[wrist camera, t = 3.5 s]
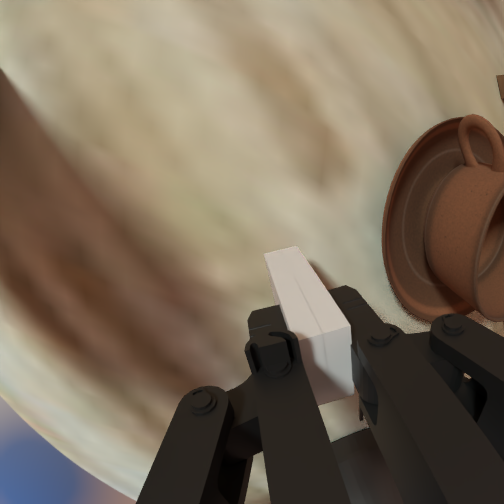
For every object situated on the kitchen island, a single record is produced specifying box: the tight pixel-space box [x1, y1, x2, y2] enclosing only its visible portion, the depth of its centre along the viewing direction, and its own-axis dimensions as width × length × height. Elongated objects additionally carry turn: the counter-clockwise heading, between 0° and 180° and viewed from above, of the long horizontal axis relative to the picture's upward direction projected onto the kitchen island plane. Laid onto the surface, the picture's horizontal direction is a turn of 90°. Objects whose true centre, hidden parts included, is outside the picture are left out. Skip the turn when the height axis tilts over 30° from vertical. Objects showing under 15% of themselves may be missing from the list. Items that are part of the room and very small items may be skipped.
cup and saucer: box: [382, 114, 504, 322], centre depth 13 cm, size 12×12×6 cm
